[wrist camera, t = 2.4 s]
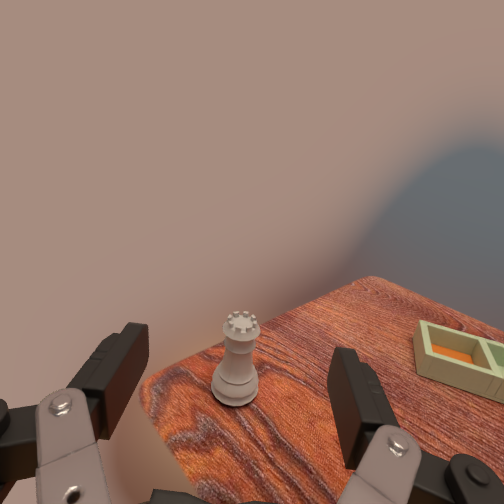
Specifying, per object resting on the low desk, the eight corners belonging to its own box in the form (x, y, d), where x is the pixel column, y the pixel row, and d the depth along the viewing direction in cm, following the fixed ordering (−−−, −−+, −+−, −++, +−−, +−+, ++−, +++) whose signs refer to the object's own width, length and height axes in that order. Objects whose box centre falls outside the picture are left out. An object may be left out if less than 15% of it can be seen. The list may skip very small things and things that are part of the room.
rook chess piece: (244, 418, 26) (255, 343, 23) (201, 396, 28) (205, 323, 25) (265, 383, 30) (276, 315, 27) (225, 365, 32) (232, 299, 29)
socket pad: (416, 374, 34) (425, 353, 33) (412, 337, 40) (419, 319, 39) (568, 426, 29) (584, 404, 28) (537, 376, 36) (549, 356, 34)
